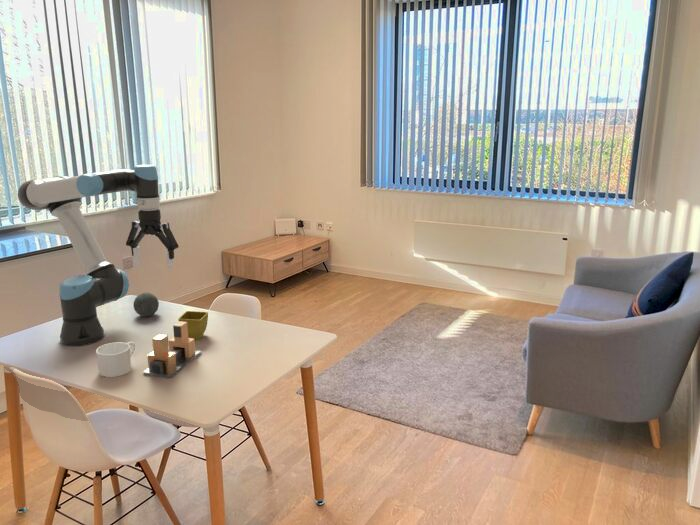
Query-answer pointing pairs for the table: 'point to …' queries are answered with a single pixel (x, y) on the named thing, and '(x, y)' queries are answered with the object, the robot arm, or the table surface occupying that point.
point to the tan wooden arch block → (182, 339)
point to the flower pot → (195, 323)
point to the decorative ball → (146, 304)
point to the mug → (114, 358)
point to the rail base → (166, 358)
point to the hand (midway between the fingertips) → (153, 266)
